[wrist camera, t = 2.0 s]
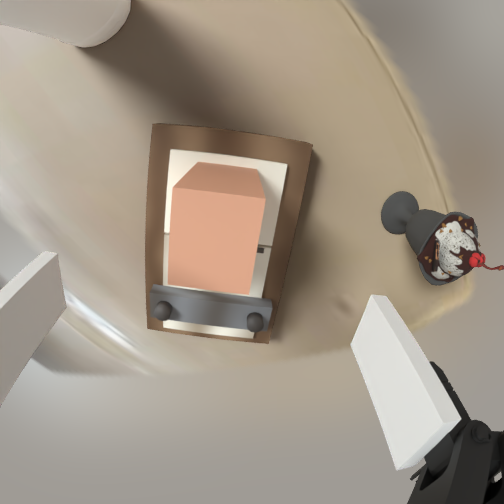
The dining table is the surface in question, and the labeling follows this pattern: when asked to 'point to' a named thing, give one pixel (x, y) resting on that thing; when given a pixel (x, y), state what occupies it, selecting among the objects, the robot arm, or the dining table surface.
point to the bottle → (67, 18)
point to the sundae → (435, 238)
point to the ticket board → (267, 257)
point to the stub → (219, 217)
